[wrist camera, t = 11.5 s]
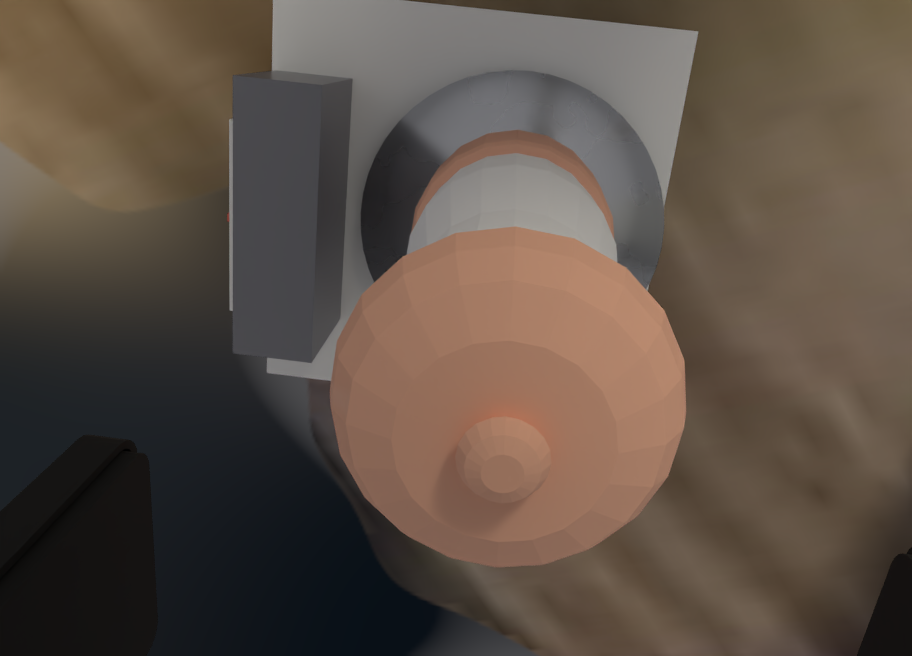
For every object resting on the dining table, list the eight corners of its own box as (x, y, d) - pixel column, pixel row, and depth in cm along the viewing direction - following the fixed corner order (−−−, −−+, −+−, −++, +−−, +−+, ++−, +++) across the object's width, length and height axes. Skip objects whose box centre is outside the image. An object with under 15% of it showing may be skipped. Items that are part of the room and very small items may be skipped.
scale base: (682, 32, 32) (732, 29, 24) (615, 389, 37) (639, 475, 30) (288, -10, 32) (219, -25, 25) (280, 347, 38) (221, 422, 30)
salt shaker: (581, 105, 29) (681, 205, 11) (623, 286, 31) (762, 610, 13) (397, 159, 30) (221, 326, 12) (450, 329, 33) (365, 679, 15)
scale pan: (687, 87, 30) (692, 88, 29) (631, 375, 34) (634, 385, 33) (374, 53, 30) (369, 54, 29) (357, 342, 34) (352, 350, 33)
